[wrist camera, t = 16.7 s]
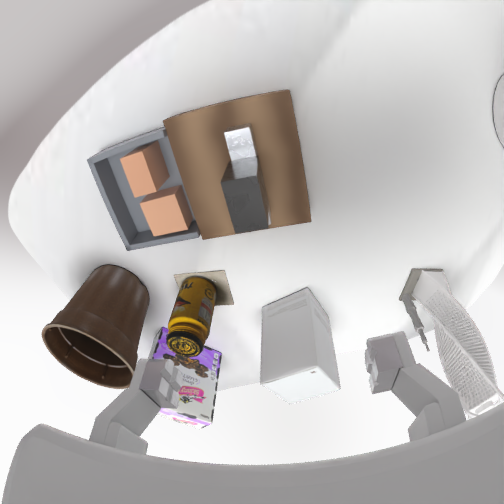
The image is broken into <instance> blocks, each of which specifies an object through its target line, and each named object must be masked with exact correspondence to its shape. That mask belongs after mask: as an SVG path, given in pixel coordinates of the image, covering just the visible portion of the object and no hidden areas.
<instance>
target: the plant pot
mask: <svg viewBox="0 0 504 504" xmlns="http://www.w3.org/2000/svg"><path fill="white" fill-rule="evenodd" d="M148 305H149V294H148V291H147V289H146V287H145V286H143V285H142V284H141V283H140V281H139V279H138V278H137V277H136V276H135V275H134V274H132V273H131V272H129V271H127V270H125V269H123V268H121V267H118V266H114V265H103V266H101V267H99V268H97V269H95V270H94V271H93V272H92V273H91V275H90V276H89V277H88V279H87V280H86V281H85V282H84V284H83V285H82V286H81V287H80V289H79V290H78V291H77V292H76V294H75V295H74V296H73V298H72V299H71V300H70V302H69V303H68V304H67V305H66V307H65V308H64V309H63V310H62V311H60V312H59V313H58V314H57V315H56V317H55V318H54V319H53V321H52V322H51V323H50V324H47V325H46V326H45V327H44V328H43V330H42V338H43V341H44V343H45V345H46V347H47V349H48V350H49V351H50V353H51V354H52V355H53V356H54V357H55V358H56V359H57V360H58V361H59V362H60V363H61V364H62V365H63V366H64V367H66V368H67V369H68V370H70V371H72V372H73V373H74V374H76V375H78V376H79V377H81V378H84V379H85V380H88V381H90V382H92V383H95V384H97V385H100V386H104V387H108V388H114V389H124V388H129V387H130V383H131V380H132V377H133V374H134V371H135V368H136V363H137V358H138V355H137V349H138V344H139V340H140V336H141V331H142V327H143V323H144V319H145V316H146V312H147V308H148Z"/></svg>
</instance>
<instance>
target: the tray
mask: <svg viewBox="0 0 504 504" xmlns="http://www.w3.org/2000/svg"><path fill="white" fill-rule="evenodd" d="M157 140H158V142H159V145H160V148H161V151H162V154H163V157H164V160H165V163H166V166H167V169H168V172H169V175H170V177H169V178H168V179H167V180H166V181H165V183H164V184H163V185H162V186H161V187H160V188H159V190H163V189H167V188H171V187H174V186H178V185H181V186H182V189H183V191H184V194H185V197H186V200H187V203H188V205H189V208H190V211H191V214H192V217H193V219H192V222H191V224H190V226H189V228H188V230H183V231H178V232H173V233H168V234H164V235H159V236H153V233H152V231H151V229H150V227H149V224H148V222H147V220H146V217H145V215H144V213H143V210H142V208H141V206H140V202H141V201H142V200H143V199H144V198H145V196H146V195H143V196H139V197H136V198H135V197H134V195H133V192H132V190H131V187H130V184H129V182H128V179H127V177H126V174H125V171H124V169H123V166H122V163H121V161H120V158H122V157H123V156H125V155H126V154H128V153H129V152H131V151H132V150H134V149H135V148H137V147H139V146H142V145H145V144H148V143H151V142H154V141H157ZM87 161H88V164H89V166H90V169H91V171H92V174H93V176H94V179H95V181H96V184H97V186H98V188H99V191H100V193H101V196H102V198H103V200H104V202H105V205H106V207H107V209H108V211H109V214H110V216H111V218H112V220H113V222H114V224H115V227H116V229H117V231H118V233H119V235H120V237H121V239H122V241H123V243H124V245H125V247H126V249H127V251H130V250H135V249H140V248H145V247H151V246H156V245H161V244H166V243H172V242H177V241H183V240H188V239H194V238H199V236H200V231H199V228H198V225H197V222H196V219H195V217H194V214H193V211H192V208H191V205H190V202H189V199H188V196H187V194H186V191H185V188H184V185H183V182H182V179H181V176H180V173H179V170H178V167H177V164H176V161H175V158H174V155H173V151H172V148H171V145H170V142H169V139H168V136H167V132H166V129H165V127H163V128H160V129H157V130H154V131H151V132H148V133H145V134H143V135H140V136H137V137H134V138H132V139H129V140H127V141H124V142H121V143H119V144H116V145H114V146H112V147H109V148H107V149H104V150H102V151H100V152H99V153H97V154H95V155H94V156H92V157H90V158H89V159H87ZM159 190H158V191H159Z"/></svg>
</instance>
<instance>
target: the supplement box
mask: <svg viewBox="0 0 504 504" xmlns="http://www.w3.org/2000/svg"><path fill="white" fill-rule="evenodd" d="M260 384H261V385H262V386H264V387H265V388H267V389H268V390H270V391H271V392H273V393H274V394H275V395H277V396H278V397H280V398H281V399H283V400H284V401H286V402H287V403H289V404H293V403H297V402H301V401H304V400H307V399H311V398H314V397H318V396H322V395H326V394H329V393H332V392H335V391H338V390H340V381H339V374H338V368H337V362H336V356H335V350H334V345H333V339H332V334H331V329H330V323H329V318H328V316H327V314H326V313H325V311H324V310H323V308H322V307H321V305H320V304H319V303H318V301H317V300H316V298H315V297H314V295H313V294H312V293H311V291H310V290H309V289H308V288H305V289H303V290H301V291H299V292H296V293H294V294H292V295H290V296H287V297H285V298H283V299H281V300H278V301H276V302H274V303H271V304H269V305H267V306H264V307H262V337H261V371H260Z"/></svg>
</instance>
